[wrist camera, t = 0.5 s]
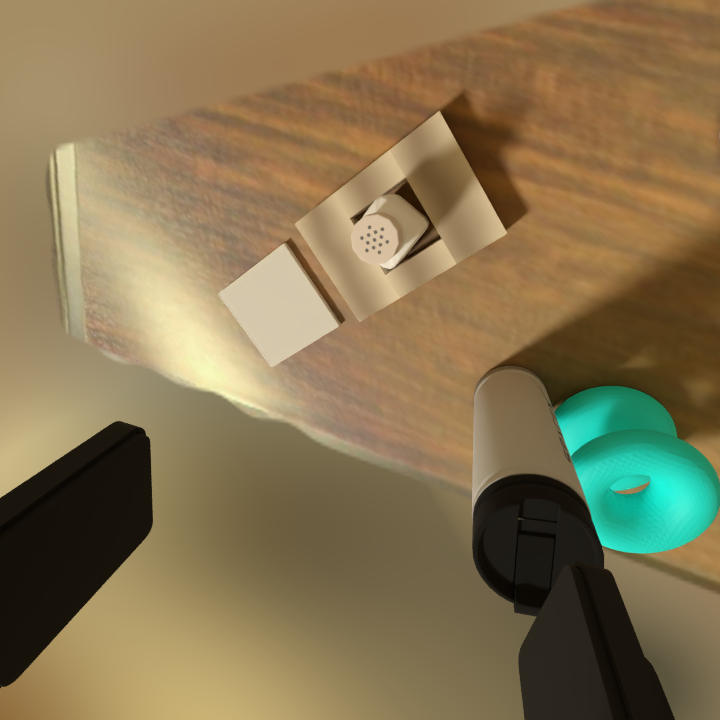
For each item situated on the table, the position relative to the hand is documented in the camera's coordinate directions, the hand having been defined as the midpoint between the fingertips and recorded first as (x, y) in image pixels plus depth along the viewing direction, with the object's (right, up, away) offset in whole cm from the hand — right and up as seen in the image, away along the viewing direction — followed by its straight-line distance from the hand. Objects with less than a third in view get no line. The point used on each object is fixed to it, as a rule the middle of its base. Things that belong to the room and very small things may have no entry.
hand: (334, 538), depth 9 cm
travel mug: (+14, 0, +30) cm, 33 cm away
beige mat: (-7, +9, +32) cm, 34 cm away
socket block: (+4, +15, +26) cm, 31 cm away
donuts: (+22, -2, +29) cm, 37 cm away
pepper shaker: (+4, +15, +26) cm, 31 cm away
